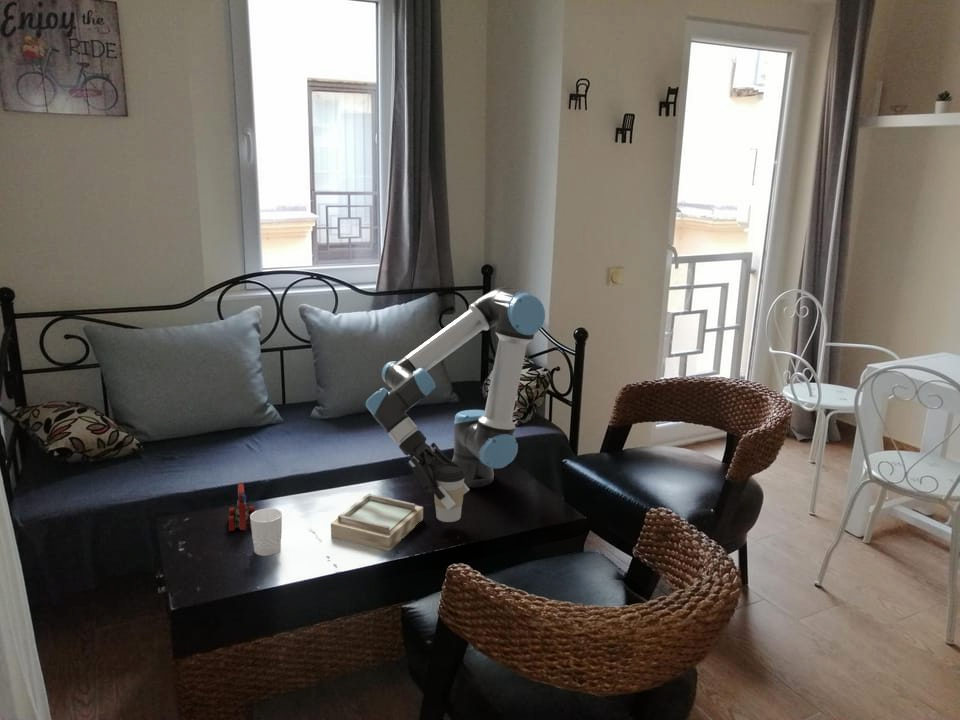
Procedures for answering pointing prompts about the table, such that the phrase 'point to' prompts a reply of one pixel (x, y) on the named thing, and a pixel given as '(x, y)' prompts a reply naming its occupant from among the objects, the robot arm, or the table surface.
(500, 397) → the robot arm
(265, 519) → the white cup
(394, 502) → the tray
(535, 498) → the table surface
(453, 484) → the coffee cup
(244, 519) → the toy fire truck
